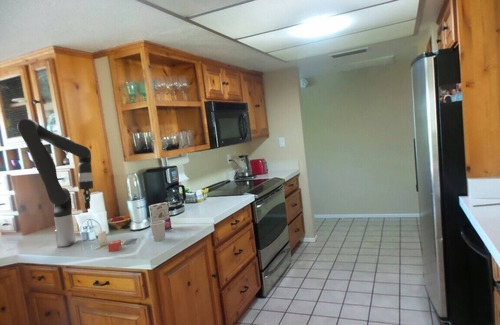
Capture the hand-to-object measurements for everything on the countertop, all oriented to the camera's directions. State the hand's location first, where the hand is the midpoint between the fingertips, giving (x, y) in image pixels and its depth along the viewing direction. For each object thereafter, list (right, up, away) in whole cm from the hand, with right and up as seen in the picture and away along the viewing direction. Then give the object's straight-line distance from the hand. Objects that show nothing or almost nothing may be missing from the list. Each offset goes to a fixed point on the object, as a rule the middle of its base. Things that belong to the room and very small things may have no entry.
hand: (87, 208), depth 197 cm
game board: (+23, -18, -13) cm, 32 cm away
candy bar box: (+41, -15, +11) cm, 44 cm away
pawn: (+16, -18, -14) cm, 28 cm away
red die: (+26, -19, -23) cm, 39 cm away
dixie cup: (+45, -16, -10) cm, 48 cm away
